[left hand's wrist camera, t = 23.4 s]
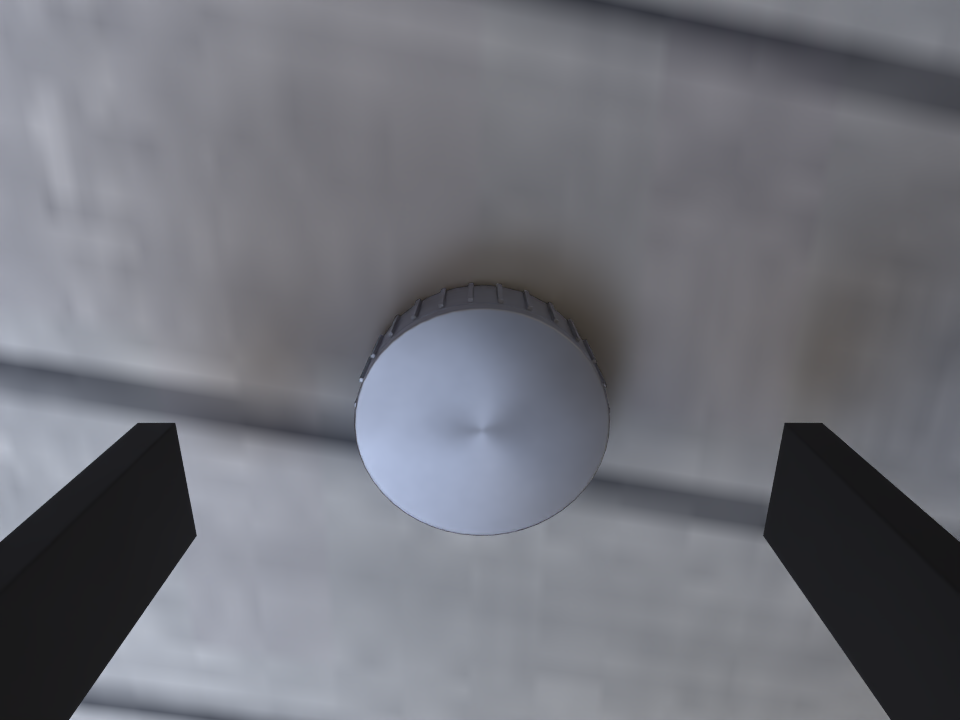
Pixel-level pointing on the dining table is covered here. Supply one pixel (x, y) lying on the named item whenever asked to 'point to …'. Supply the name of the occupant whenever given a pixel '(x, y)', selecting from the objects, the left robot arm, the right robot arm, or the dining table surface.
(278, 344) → the dining table surface
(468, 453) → the lid
